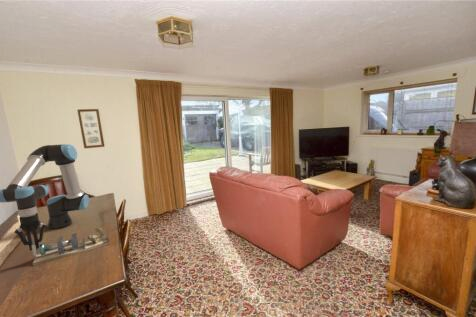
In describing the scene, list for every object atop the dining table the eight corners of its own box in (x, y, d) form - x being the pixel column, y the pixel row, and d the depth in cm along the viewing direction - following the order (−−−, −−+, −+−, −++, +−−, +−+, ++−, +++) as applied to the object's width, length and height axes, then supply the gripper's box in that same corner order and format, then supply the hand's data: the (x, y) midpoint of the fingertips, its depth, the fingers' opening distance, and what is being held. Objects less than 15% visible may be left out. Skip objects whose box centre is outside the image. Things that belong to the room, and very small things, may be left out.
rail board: (36, 257, 128) (36, 254, 128) (108, 238, 148) (108, 236, 148) (33, 265, 120) (32, 263, 120) (109, 244, 140) (109, 242, 140)
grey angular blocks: (60, 250, 134) (58, 236, 133) (108, 238, 148) (106, 225, 147) (58, 258, 126) (56, 243, 125) (109, 244, 140) (107, 230, 139)
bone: (86, 244, 134) (87, 228, 138) (88, 245, 139) (88, 229, 143) (102, 242, 138) (103, 225, 142) (103, 243, 143) (104, 227, 147)
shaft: (40, 257, 123) (39, 246, 122) (42, 252, 128) (41, 242, 127) (75, 248, 131) (73, 238, 131) (75, 243, 137) (74, 234, 136)
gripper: (9, 220, 114) (17, 262, 117) (42, 214, 121) (49, 253, 124) (14, 215, 120) (21, 255, 124) (45, 210, 127) (51, 247, 131)
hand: (35, 254), depth 124 cm, fingers closed
